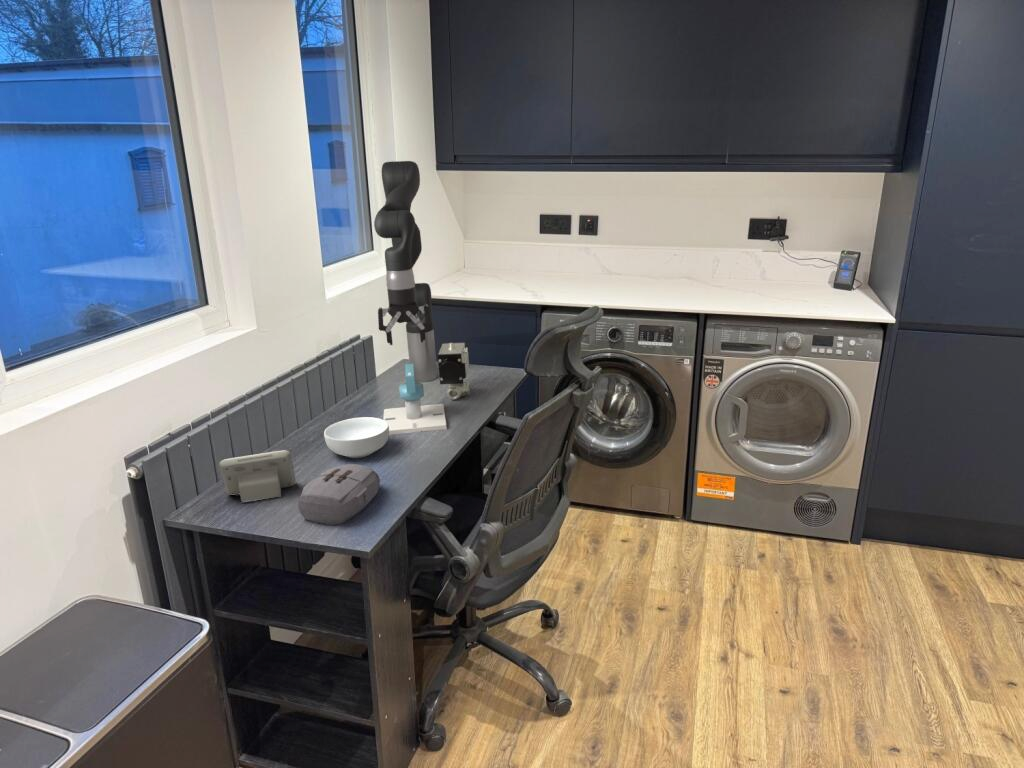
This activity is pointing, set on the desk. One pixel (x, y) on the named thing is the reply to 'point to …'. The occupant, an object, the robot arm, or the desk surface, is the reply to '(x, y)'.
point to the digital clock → (258, 474)
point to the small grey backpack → (338, 493)
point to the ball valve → (454, 369)
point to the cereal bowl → (357, 436)
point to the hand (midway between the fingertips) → (406, 343)
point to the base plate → (421, 422)
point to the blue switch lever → (410, 385)
